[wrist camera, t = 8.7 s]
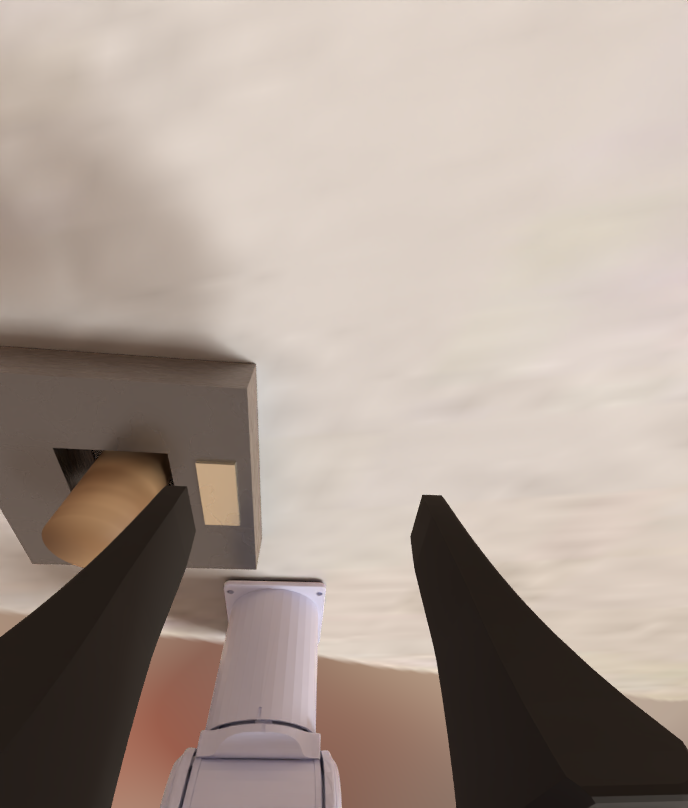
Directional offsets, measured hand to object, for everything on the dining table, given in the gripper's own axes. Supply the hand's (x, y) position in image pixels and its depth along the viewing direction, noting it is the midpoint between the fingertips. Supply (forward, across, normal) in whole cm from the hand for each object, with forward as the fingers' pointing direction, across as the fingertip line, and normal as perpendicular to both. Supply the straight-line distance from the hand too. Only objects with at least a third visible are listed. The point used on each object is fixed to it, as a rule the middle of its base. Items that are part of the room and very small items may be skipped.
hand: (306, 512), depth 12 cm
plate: (+10, +10, +7) cm, 16 cm away
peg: (+10, +10, +7) cm, 16 cm away
